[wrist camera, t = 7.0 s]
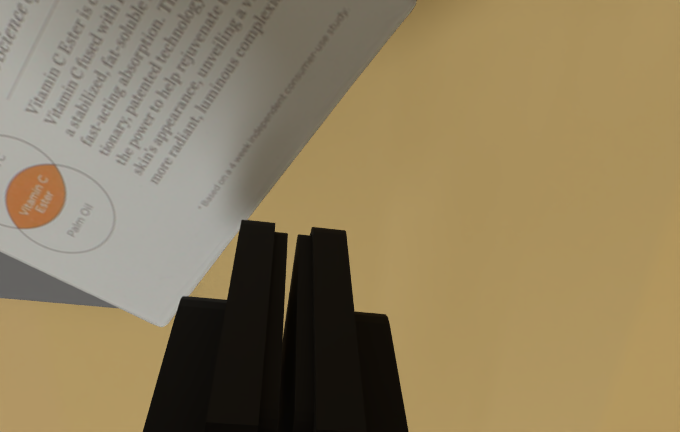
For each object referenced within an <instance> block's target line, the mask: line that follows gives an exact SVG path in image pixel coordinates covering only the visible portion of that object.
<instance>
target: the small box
mask: <svg viewBox="0 0 680 432" xmlns="http://www.w3.org/2000/svg"><path fill="white" fill-rule="evenodd" d="M415 5H416V0H0V252H2V253H4V254H6V255H8V256H10V257H12V258H15V259H17V260H19V261H21V262H23V263H25V264H27V265H29V266H31V267H34V268H36V269H38V270H40V271H42V272H44V273H46V274H48V275H50V276H52V277H55V278H57V279H59V280H61V281H63V282H65V283H67V284H69V285H72V286H74V287H76V288H78V289H80V290H82V291H84V292H86V293H89V294H91V295H93V296H95V297H97V298H99V299H101V300H103V301H106V302H108V303H110V304H112V305H114V306H116V307H118V308H120V309H122V310H124V311H126V312H128V313H131V314H133V315H135V316H137V317H139V318H141V319H143V320H145V321H147V322H149V323H152V324H154V325H156V326H159V327H164V326H165V325H167V324H168V323H169V322H170V321H171V319H172V318H173V317H174V315H175V314H176V312H177V309H178V305H179V302H180V300H181V298H182V296H189V295H190V294H191V292H192V291H193V290H194V289H195V287H196V286H197V285H198V283H199V282H200V281H201V279H202V278H203V277H204V275H205V274H206V273H207V272H208V270H209V269H210V268H211V266H212V265H213V264H214V262H215V261H216V260H217V258H218V257H219V256H220V255H221V253H222V252H223V251H224V249H225V248H226V247H227V245H228V244H229V243H230V241H231V240H232V239H233V238H234V236H235V235H236V234H237V232H238V231H239V230H240V225H241V220H248V218H249V217H250V216H251V214H252V213H253V212H254V210H255V209H256V208H257V207H258V205H259V204H260V203H261V201H262V200H263V199H264V198H265V196H266V195H267V194H268V192H269V191H270V190H271V189H272V187H273V186H274V185H275V183H276V182H277V181H278V180H279V178H280V177H281V176H282V175H283V173H284V172H285V171H286V169H287V168H288V167H289V166H290V164H291V163H292V162H293V160H294V159H295V158H296V157H297V155H298V154H299V153H300V151H301V150H302V149H303V148H304V146H305V145H306V144H307V142H308V141H309V140H310V139H311V137H312V136H313V135H314V133H315V132H316V131H317V130H318V128H319V127H320V126H321V124H322V123H323V122H324V121H325V119H326V118H327V117H328V115H329V114H330V113H331V112H332V110H333V109H334V108H335V106H336V105H337V104H338V103H339V101H340V100H341V99H342V97H343V96H344V95H345V93H346V92H347V91H348V90H349V88H350V87H351V86H352V84H353V83H354V82H355V81H356V79H357V78H358V77H359V76H360V74H361V73H362V72H363V71H364V70H365V68H366V67H367V66H368V65H369V63H370V62H371V61H372V60H373V58H374V57H375V56H376V54H377V53H378V52H379V51H380V49H381V48H382V47H383V46H384V44H385V43H386V42H387V41H388V39H389V38H390V37H391V36H392V34H393V33H394V32H395V31H396V29H397V28H398V27H399V26H400V25H401V23H402V22H403V21H404V20H405V19H406V17H407V16H408V15H409V14H410V12H411V11H412V10H413V8H414V7H415Z"/></svg>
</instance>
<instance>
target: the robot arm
mask: <svg viewBox="0 0 680 432" xmlns="http://www.w3.org/2000/svg"><path fill="white" fill-rule="evenodd" d="M287 238H288V233H279V232H275V223H270V222H260V221H251V220H241V225H240V231H239V236H238V242H237V248H236V253H235V259H234V265H233V270H232V276H231V281H230V287H229V293H228V298H227V300H221V299H210V298H199V297H188V296H182V298H181V300H180V302H179V305H178V309H177V312H176V316H175V319H174V323H173V327H172V330H171V334H170V337H169V341H168V344H167V348H166V351H165V355H164V358H163V362H162V365H161V369H160V373H159V376H158V380H157V383H156V387H155V390H154V394H153V397H152V401H151V404H150V408H149V412H148V415H147V419H146V422H145V426H144V429H143V432H408V426H407V420H406V415H405V409H404V403H403V398H402V392H401V386H400V381H399V375H398V369H397V363H396V358H395V352H394V346H393V341H392V335H391V329H390V324H389V320H388V317H387V316H386V315H385V314H375V313H364V312H354V304H353V294H352V284H351V275H350V265H349V255H348V246H347V236H346V231H345V230H335V229H326V228H316V227H312V229H311V233H310V236H308V235H299V234H298V237H297V243H296V250H295V257H294V264H293V271H292V279H291V286H290V293H289V300H288V307H287V314H286V321H285V328H284V335H283V319H284V299H285V279H286V259H287ZM282 339H283V342H282Z"/></svg>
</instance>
